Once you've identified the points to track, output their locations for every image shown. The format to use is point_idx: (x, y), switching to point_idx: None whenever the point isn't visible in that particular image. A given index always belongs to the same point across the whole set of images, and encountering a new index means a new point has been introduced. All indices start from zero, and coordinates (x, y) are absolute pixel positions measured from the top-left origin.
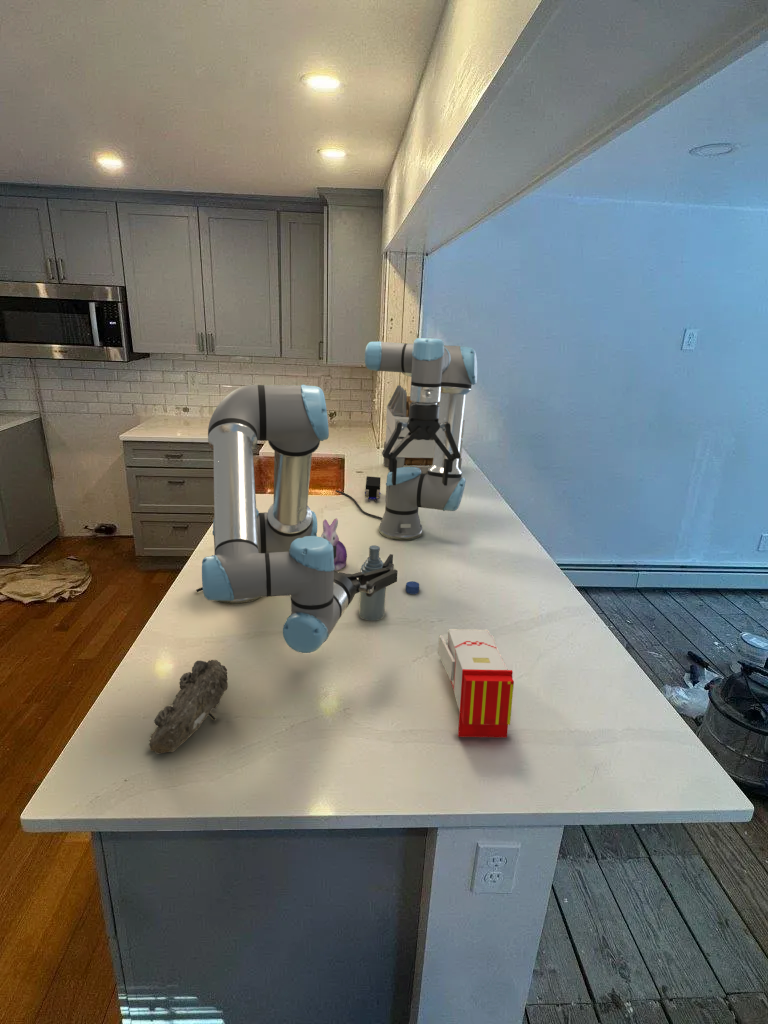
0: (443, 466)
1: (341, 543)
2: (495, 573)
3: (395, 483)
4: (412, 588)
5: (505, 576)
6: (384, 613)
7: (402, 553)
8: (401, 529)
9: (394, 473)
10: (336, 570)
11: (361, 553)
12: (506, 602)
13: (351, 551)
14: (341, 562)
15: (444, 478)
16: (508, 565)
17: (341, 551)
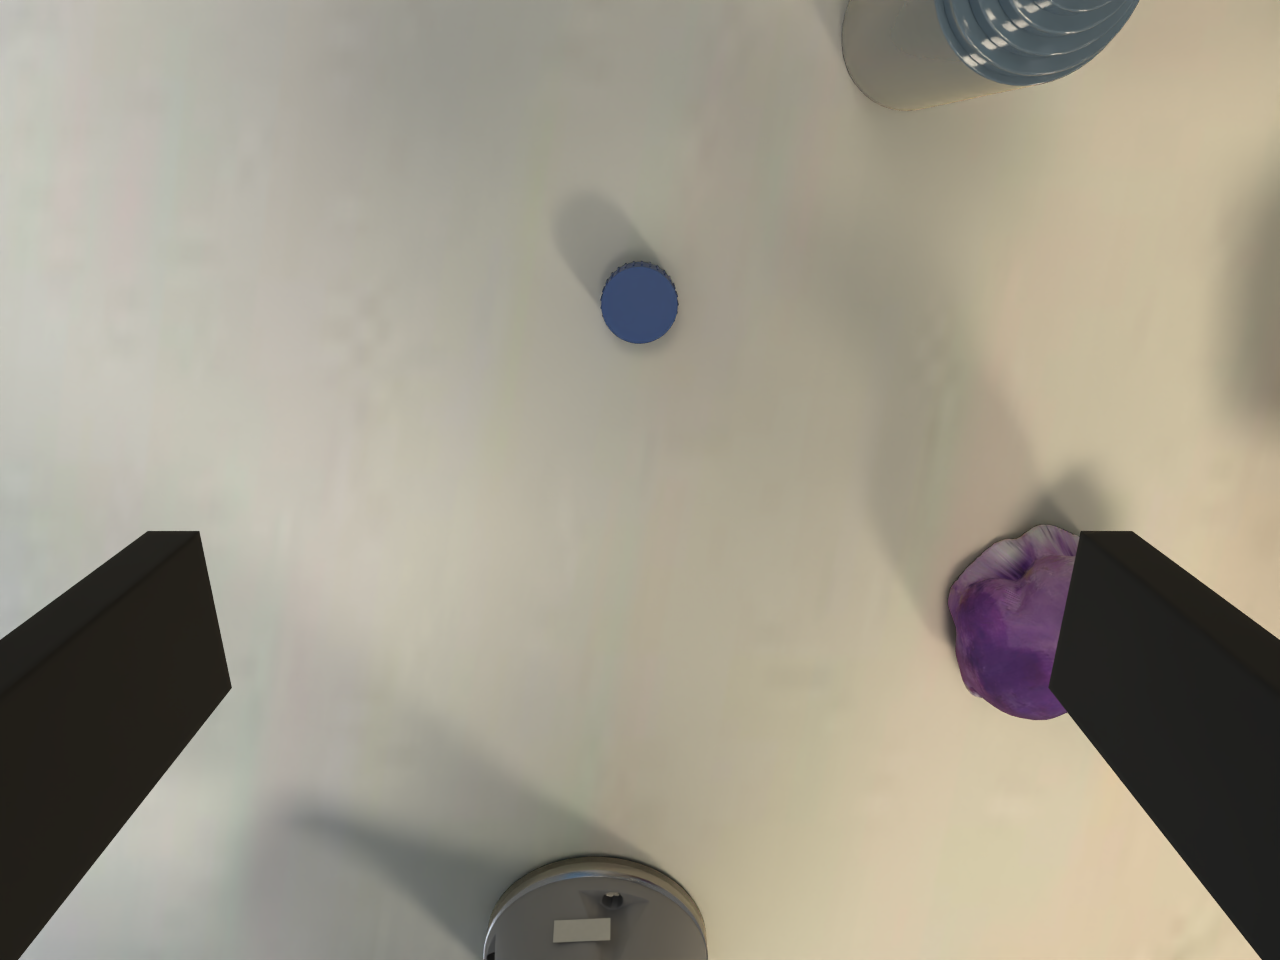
0: (38, 929)
1: (1017, 679)
2: (145, 492)
3: (1104, 545)
4: (646, 265)
5: (92, 456)
6: (850, 4)
7: (622, 722)
8: (603, 916)
9: (1270, 648)
10: (1008, 539)
11: (836, 725)
12: (115, 144)
13: (884, 747)
14: (990, 578)
15: (135, 619)
16: (63, 580)
17: (1015, 618)
